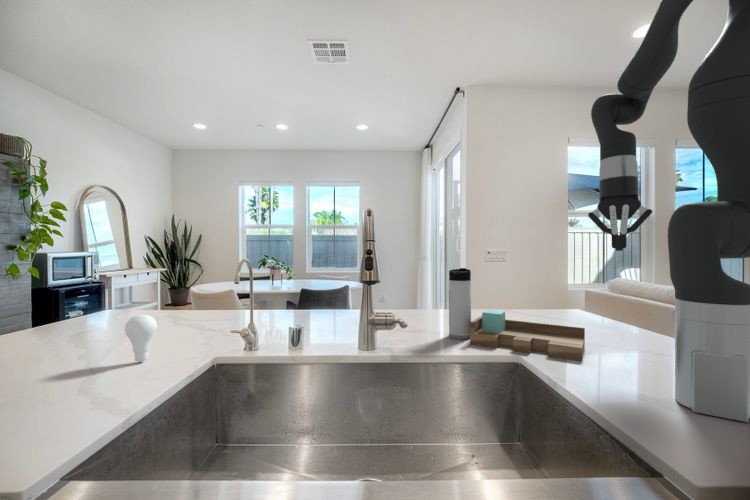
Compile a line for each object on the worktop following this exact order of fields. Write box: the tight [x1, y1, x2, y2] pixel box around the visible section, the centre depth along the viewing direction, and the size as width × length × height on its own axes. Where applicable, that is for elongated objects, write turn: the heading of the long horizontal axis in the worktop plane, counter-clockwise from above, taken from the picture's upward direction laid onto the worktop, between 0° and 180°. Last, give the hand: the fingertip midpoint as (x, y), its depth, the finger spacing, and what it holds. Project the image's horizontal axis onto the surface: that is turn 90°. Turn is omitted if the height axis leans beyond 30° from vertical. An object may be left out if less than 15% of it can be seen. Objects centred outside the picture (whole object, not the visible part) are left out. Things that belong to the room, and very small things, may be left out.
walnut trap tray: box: [469, 315, 586, 362], centre depth 91 cm, size 11×26×6 cm, turn 56°
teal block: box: [481, 309, 506, 333], centre depth 97 cm, size 5×5×5 cm
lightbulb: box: [124, 313, 158, 363], centre depth 80 cm, size 6×6×11 cm
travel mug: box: [448, 267, 472, 341], centre depth 102 cm, size 6×7×20 cm
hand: (619, 250), depth 82 cm, fingers closed
